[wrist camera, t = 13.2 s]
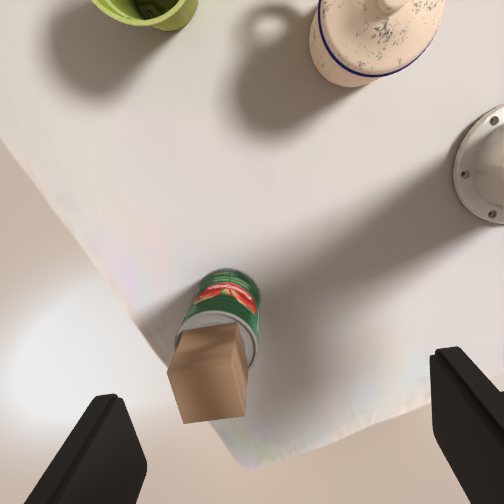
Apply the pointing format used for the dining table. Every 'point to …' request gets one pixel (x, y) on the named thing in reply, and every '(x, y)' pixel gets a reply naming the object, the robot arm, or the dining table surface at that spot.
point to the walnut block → (210, 374)
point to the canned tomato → (227, 307)
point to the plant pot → (160, 5)
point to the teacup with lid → (370, 37)
